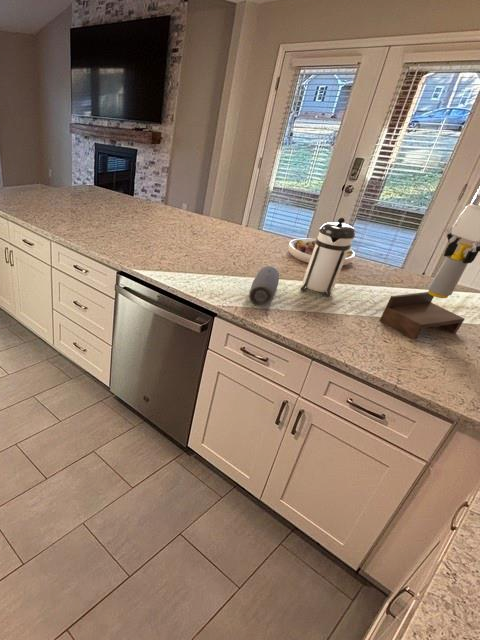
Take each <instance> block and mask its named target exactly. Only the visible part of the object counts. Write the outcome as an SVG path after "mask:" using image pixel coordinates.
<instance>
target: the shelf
mask: <svg viewBox="0 0 480 640" xmlns="http://www.w3.org/2000/svg"><path fill="white" fill-rule="evenodd" d="M434 298H435V297H434V296H432V295H430V294H429V293H428V291H425V292H416V293H415V292H414V293H406V294H398V295H397V294H396V295H391V296H390V298H389V299H388V302H387V303H386V306H385V308H384V310H383V312H382V314H381V316H380V318H379V321H380V322H382V324H385V325H387V326H388V327H390V328H392V329H394V330H395V331H396V332H399V333H400V334H402V335H404V336H406V337H407V338H408V339H411V340H412V341H415V340H417V339H418V337H419V336H420V334H421V332H422V330H423V329H427V328H433V327H439V328H441V329H443V330H444V331H447V332H449V333H450V334H453V335H456V334H457V333H458V331H459V329H460V327H462V324H463V323H464V321H465V317H462V316H460V315H458V314H456V313H454V312H452V311H450V310H448V309H445V308H444V307H442V306H439V305H438V304H435V303H433V302H432V301H433V299H434Z"/></svg>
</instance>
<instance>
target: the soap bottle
mask: <svg viewBox="0 0 480 640" xmlns="http://www.w3.org/2000/svg"><path fill="white" fill-rule="evenodd" d="M458 245H461V246H460V248H459V250H456V251H455V252H454V254H453V255H452V256H445V259H444V261H443V262H442V264H441V266H440V267H439V269H438V270H437V272H436V273H435V276H434V277H433V279H432V280H431V282H430V284H429V285H428V287H427V290H428V291H427V292H428V293H429V294H430V295H432V296H434V298H439V299H447V298H448V297H449V296H452V295H453V292H454V290H455V289H456V287H457V284H458V282H459V280H460V278H461V276H462V274H463V273H464V270H465V268H466V266H467V264H468V263H466V264H465V263H463V260H464V259H465V257H466V255H465V254H466V253H465V252H464V251H465V250H466V249H472V244H470V243H469V244H468V243H463V242H458Z"/></svg>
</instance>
